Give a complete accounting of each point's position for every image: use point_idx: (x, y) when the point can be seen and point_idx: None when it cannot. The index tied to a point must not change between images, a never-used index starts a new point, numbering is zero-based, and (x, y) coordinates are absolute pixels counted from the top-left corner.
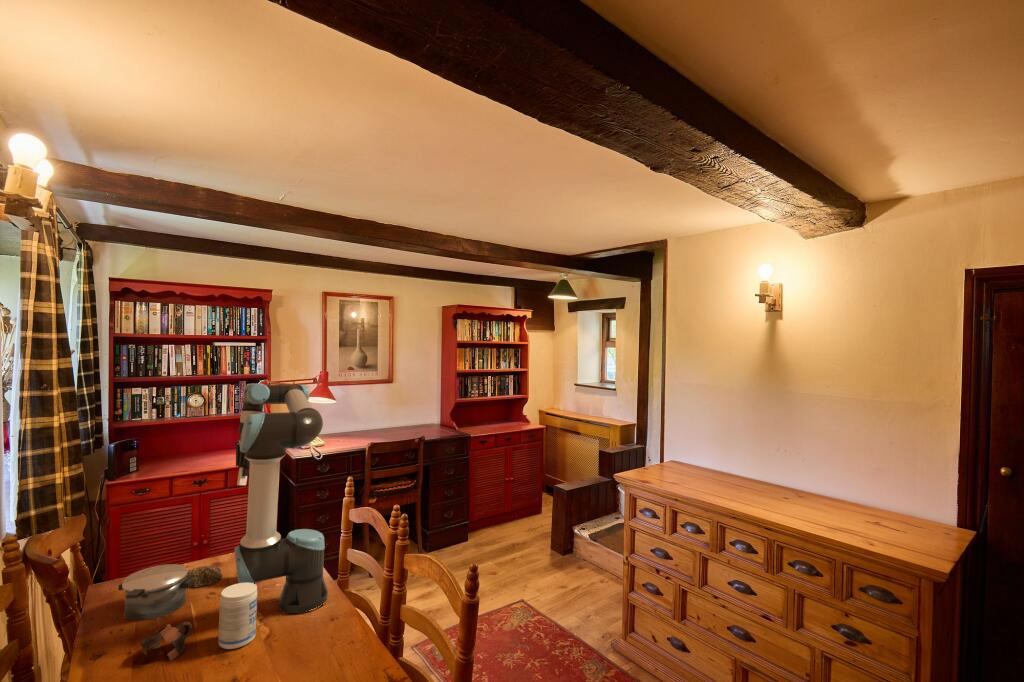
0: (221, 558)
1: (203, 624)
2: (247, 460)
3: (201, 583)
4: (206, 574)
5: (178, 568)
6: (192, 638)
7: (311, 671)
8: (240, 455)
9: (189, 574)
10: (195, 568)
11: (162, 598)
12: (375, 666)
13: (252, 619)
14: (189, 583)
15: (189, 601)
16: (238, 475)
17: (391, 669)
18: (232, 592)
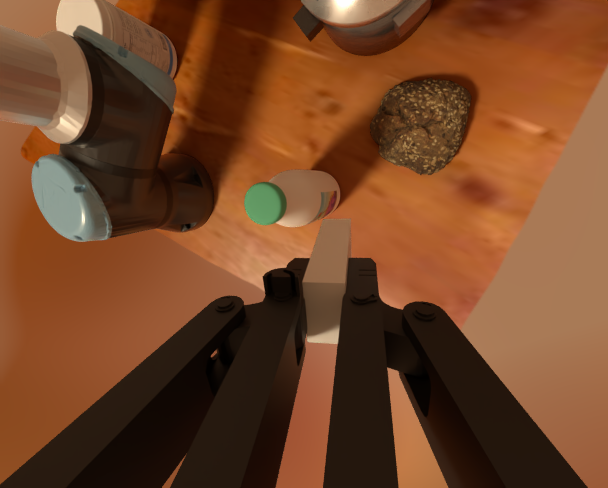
0: (506, 221)
1: (235, 42)
2: (199, 329)
3: (382, 103)
4: (388, 116)
5: (357, 2)
6: (208, 11)
7: None
8: (373, 411)
9: (430, 87)
10: (443, 108)
11: None
12: (32, 148)
13: None
14: (295, 21)
15: (337, 57)
16: (347, 247)
17: (22, 155)
18: (75, 10)
